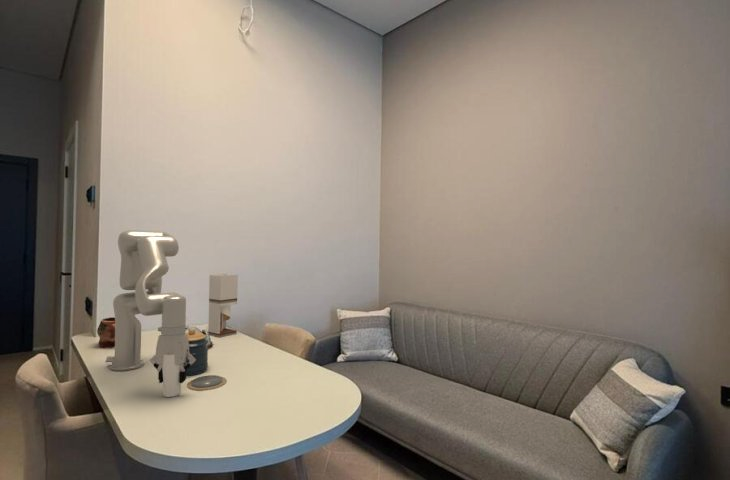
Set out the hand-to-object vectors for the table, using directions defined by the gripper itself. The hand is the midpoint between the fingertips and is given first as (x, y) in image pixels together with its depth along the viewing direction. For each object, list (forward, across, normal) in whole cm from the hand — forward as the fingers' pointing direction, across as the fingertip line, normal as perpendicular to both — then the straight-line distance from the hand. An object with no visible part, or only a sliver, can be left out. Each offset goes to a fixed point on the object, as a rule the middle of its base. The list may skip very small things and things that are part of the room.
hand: (172, 381), depth 133 cm
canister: (+5, -4, +25) cm, 26 cm away
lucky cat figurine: (+5, -15, +59) cm, 61 cm away
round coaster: (+5, +8, +11) cm, 14 cm away
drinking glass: (+5, 0, 0) cm, 5 cm away
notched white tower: (+5, -13, +89) cm, 90 cm away
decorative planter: (+5, -60, +62) cm, 86 cm away
